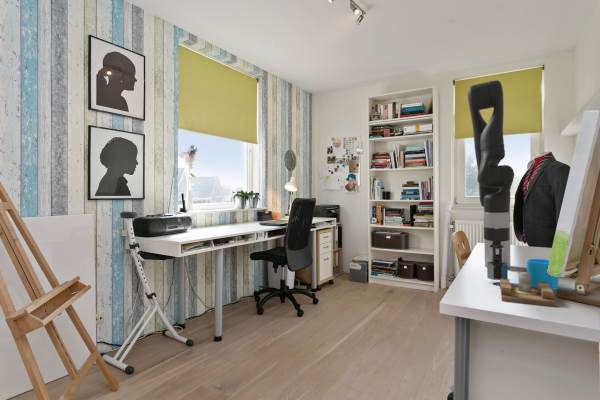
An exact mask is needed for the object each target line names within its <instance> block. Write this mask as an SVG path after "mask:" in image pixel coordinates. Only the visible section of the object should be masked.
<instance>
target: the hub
mask: <svg viewBox="0 0 600 400" xmlns="http://www.w3.org/2000/svg"><path fill="white" fill-rule="evenodd" d="M495 262H496V263H500V262H498V261H495ZM486 268H487V269H486V274H487V275H486V276H487V279H489V280H494V281H500V279H495V278H494V269H493V261H490V262H487V266H486ZM508 269H509V268H507V263H505V262H502V268H501V277H502V278H501V279H509V278H508V276H509V275H508V274H509V272H508V271H509V270H508Z"/></svg>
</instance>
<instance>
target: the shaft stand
mask: <svg viewBox="0 0 600 400" xmlns="http://www.w3.org/2000/svg"><path fill="white" fill-rule="evenodd" d="M517 278H518V284H511V282H510V279H509V278H508V279H500V280H499V282H500V284H499V288H500V297H501V301H502V302H508V303H520V304H526V305H527V304H530V305H538V306H549V307H555V306H556V301H555V300H554V299H555V295H554V290H552V289H551V288H550V286H549V285H548V283H547V282H537V287H535V286H531V274H530V273H527V272H524V271H523V272H518V277H517Z"/></svg>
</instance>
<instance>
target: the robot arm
mask: <svg viewBox="0 0 600 400" xmlns="http://www.w3.org/2000/svg"><path fill="white" fill-rule="evenodd" d="M467 102H468V109H469V112H470V118H471V124H472V129H473V130H472V131H473V142H474V152H475V159H476V165H477V176H476V177H477V183H478V189H479V190H478V192H479V193H478V194H479V202H480V205H481V207H483V221H482V222H483V240H484V246H483V247H484V266H485V267H487V262H490V261H493V269H494V278H495V279H501V278H502V277H501V268H502V262H505V263H507V269H510V268H511V267H512V266H511V262H512V261H511V260H512V259H511V217H510V215H511V213H510V212H511V211H510V210H511V208H510V207H511V187H512V185H513V183H514V182H513V181H514V178H515V171H514V169H513V168H512V167H511V166H510V165H505V164H503V165H501V164H500V163H501V161H502V160H504V158H505V157H506V150H505V142H504V89H503V85H502V82H501V81H500V80H490V81H486V82H481V83H477V84H473V85H470V86H469V87H468V89H467ZM492 108H493V112H492V114H491V117H490V119H489V120H488V123H487V122H486V121H485V119H484V117H483V116H482V114H481V112H480V111H481V110H486V109H487V110H488V109H492ZM499 164H500V165H499ZM495 261H498V262H500V263H496V262H495Z"/></svg>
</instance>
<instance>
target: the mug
mask: <svg viewBox="0 0 600 400" xmlns="http://www.w3.org/2000/svg"><path fill="white" fill-rule="evenodd" d="M549 260H550V259H542V258H528V259H527V260H526V273H530V274H531V286H535V287H537V282H547V283H548V285H549V286H550V288H551V289H552V291H556V289H558V290H559V286H560V285H559V276H558V277H554V276H551V275H549V274H548V273H547V269H548V265H549Z"/></svg>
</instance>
